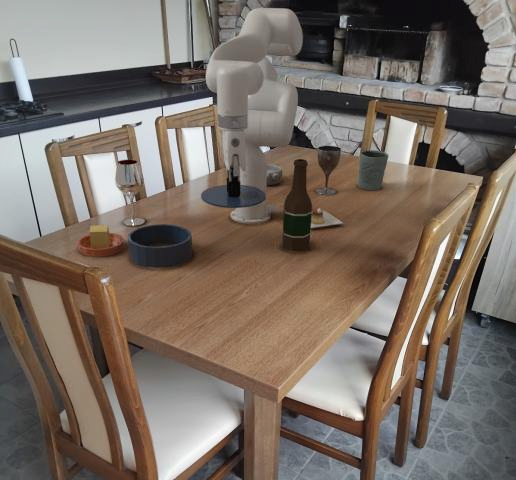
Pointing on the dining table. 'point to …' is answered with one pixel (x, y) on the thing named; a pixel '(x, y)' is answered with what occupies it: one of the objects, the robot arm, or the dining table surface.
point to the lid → (221, 198)
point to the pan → (160, 255)
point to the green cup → (372, 169)
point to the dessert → (323, 219)
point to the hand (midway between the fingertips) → (233, 193)
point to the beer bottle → (297, 211)
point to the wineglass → (129, 185)
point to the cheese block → (99, 237)
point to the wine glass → (328, 164)
